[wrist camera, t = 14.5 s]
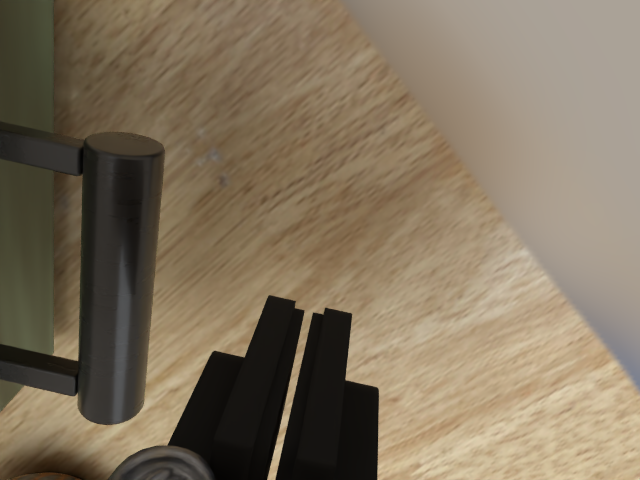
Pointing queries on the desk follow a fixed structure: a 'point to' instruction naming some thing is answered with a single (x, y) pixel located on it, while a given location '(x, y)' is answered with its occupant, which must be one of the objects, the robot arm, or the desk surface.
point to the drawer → (96, 235)
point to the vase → (44, 477)
